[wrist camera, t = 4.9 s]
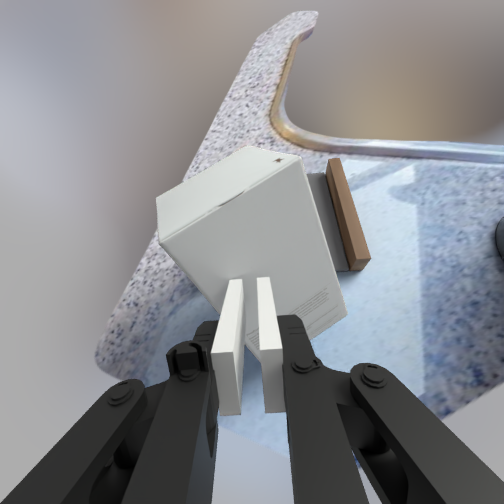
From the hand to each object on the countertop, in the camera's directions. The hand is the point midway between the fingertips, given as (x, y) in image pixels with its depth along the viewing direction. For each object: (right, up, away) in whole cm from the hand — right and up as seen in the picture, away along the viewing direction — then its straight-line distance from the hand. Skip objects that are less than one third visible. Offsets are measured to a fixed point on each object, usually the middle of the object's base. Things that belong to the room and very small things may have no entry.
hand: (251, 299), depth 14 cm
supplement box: (+3, -3, +10) cm, 11 cm away
